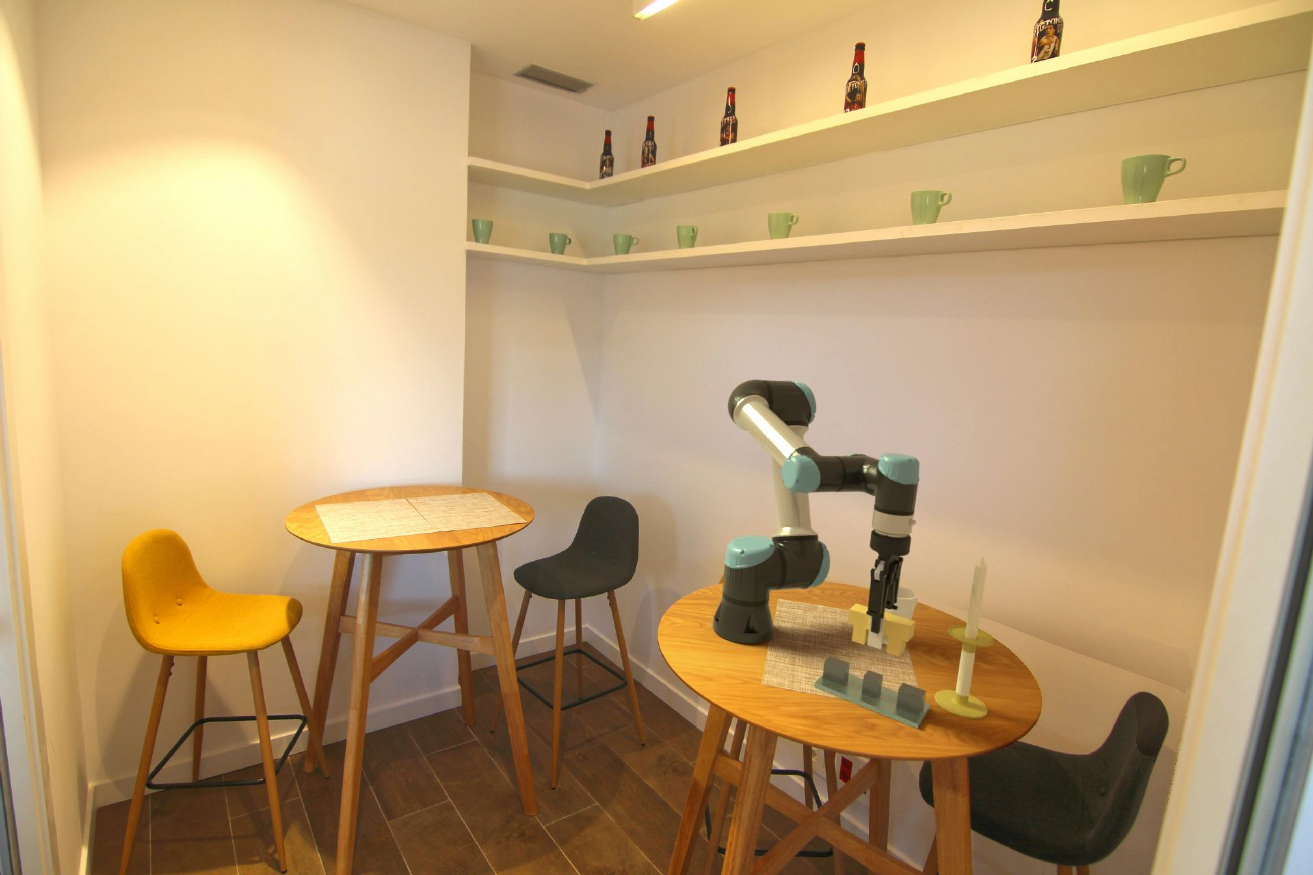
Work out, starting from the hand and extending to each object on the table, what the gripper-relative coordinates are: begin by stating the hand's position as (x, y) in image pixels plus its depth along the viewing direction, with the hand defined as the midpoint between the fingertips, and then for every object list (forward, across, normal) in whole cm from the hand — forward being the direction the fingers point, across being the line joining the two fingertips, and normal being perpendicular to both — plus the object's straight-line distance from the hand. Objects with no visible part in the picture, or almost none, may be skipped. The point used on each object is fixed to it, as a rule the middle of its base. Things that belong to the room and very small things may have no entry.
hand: (878, 642), depth 126 cm
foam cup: (+12, +30, +5) cm, 33 cm away
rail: (+12, 0, 0) cm, 12 cm away
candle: (+13, +11, -15) cm, 22 cm away
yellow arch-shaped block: (+1, 0, 0) cm, 1 cm away
